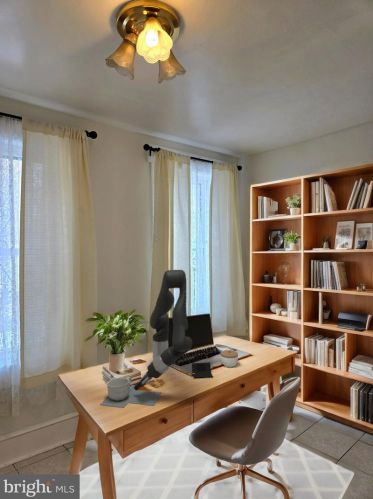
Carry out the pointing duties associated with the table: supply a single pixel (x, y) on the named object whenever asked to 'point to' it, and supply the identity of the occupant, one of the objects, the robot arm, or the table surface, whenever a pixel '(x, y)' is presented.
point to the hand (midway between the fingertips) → (135, 388)
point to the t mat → (134, 398)
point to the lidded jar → (229, 358)
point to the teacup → (119, 388)
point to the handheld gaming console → (201, 370)
